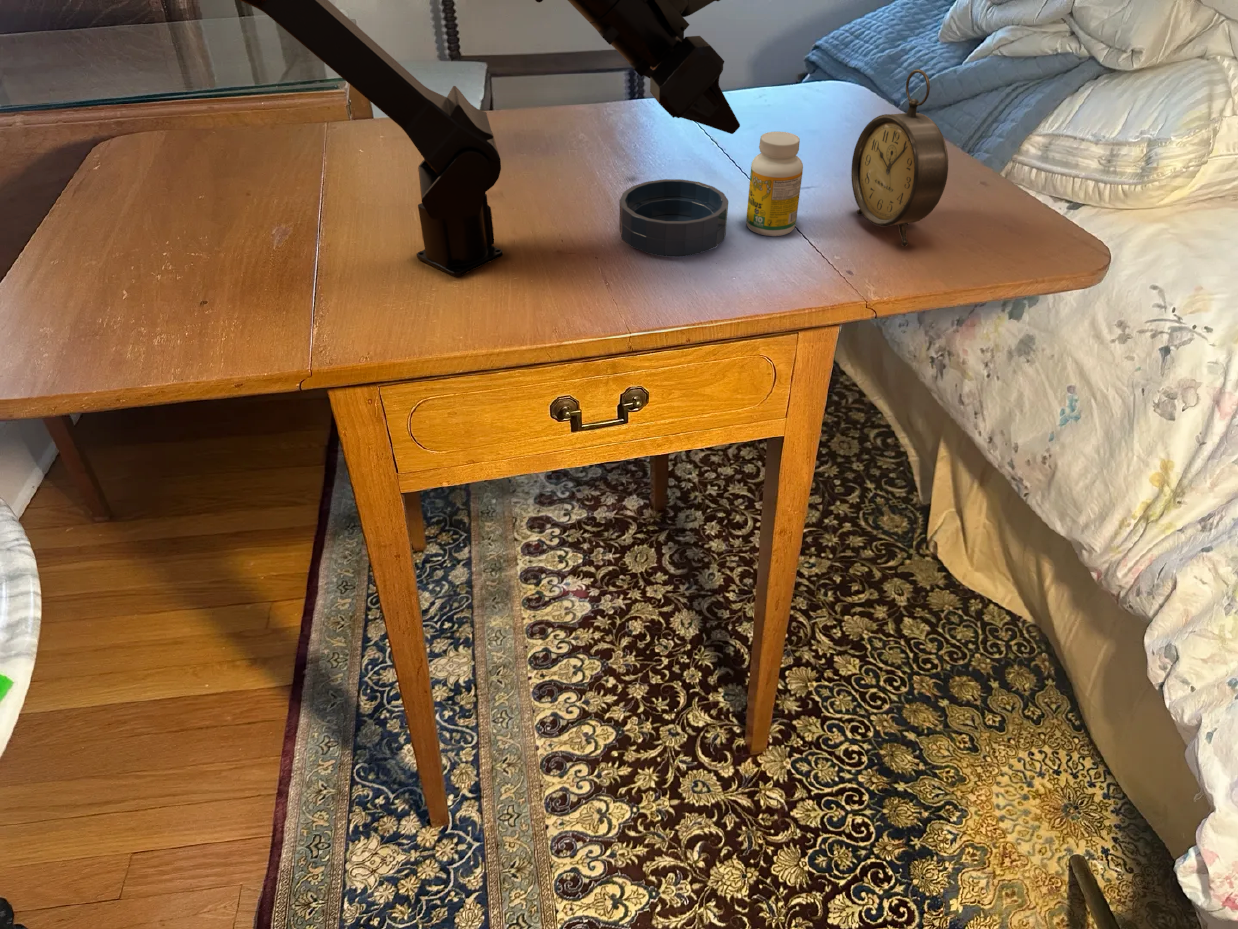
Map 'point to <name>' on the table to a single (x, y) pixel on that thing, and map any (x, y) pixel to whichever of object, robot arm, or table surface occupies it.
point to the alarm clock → (899, 167)
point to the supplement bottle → (775, 185)
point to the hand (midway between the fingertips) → (721, 113)
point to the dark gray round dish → (673, 217)
